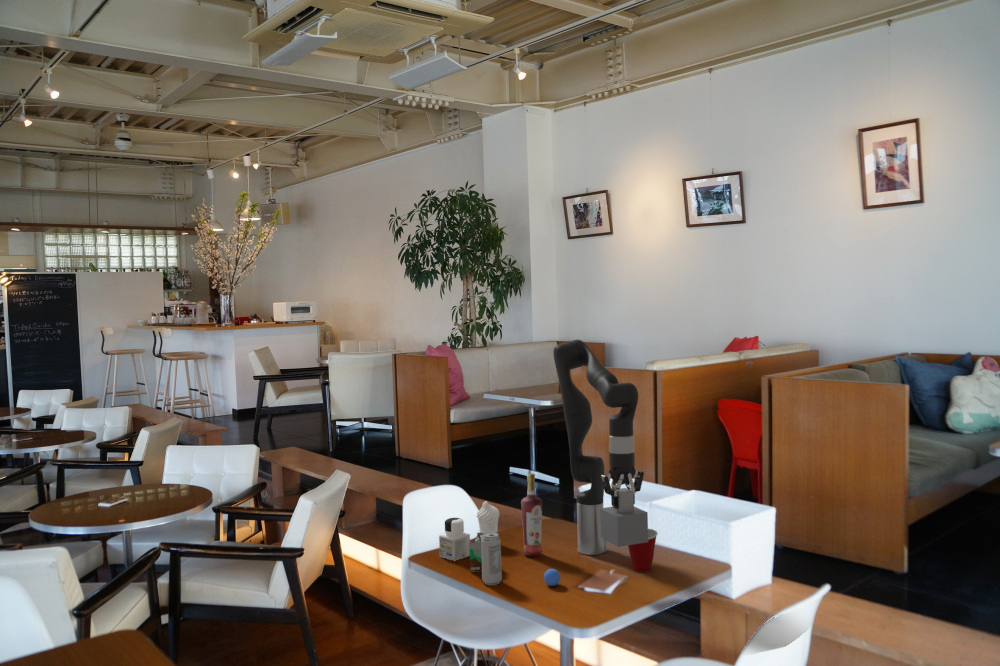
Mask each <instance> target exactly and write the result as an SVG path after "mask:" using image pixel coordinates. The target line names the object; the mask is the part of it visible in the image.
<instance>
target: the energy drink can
mask: <svg viewBox="0 0 1000 666" xmlns="http://www.w3.org/2000/svg"><path fill="white" fill-rule="evenodd" d="M481 549H482V571H481V579H482V580H481V581H483V583H485V585H486V584H487V585H486V586H498V585H499V584H501V581H502V579H503V578H502V575H503V574H502V539H501V537H500V535H499V533H494V532H489V533H485V534H483V538H482V540H481ZM497 584H498V585H497Z"/></svg>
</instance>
